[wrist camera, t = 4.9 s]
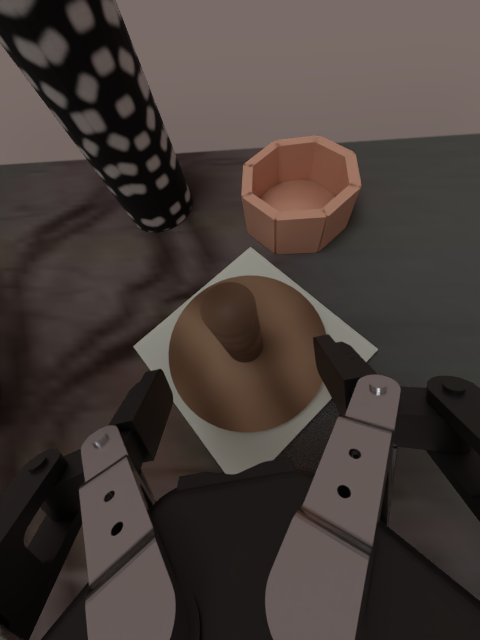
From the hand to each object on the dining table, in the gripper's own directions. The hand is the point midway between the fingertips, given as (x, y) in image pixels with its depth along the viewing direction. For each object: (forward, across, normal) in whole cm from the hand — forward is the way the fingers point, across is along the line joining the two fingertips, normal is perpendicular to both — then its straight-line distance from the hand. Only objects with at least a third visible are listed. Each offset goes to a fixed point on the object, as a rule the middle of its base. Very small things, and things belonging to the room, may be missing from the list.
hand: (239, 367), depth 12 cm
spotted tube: (+24, +8, -10) cm, 28 cm away
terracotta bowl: (+20, -8, -6) cm, 22 cm away
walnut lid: (+9, 0, +4) cm, 9 cm away
